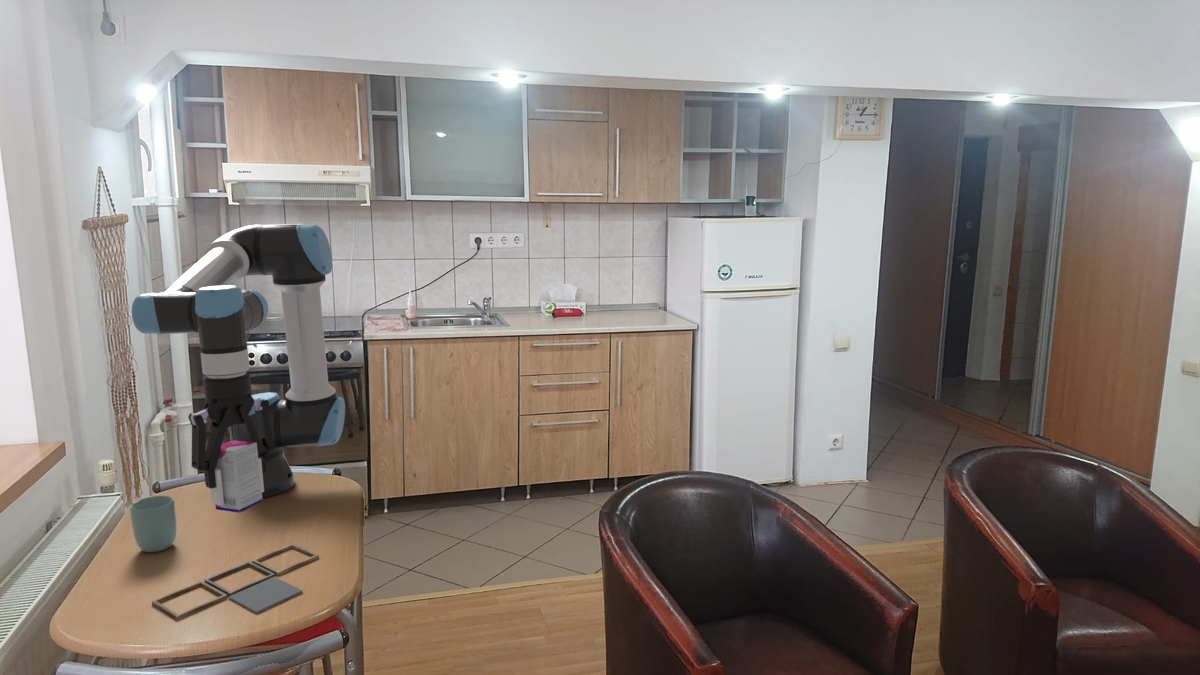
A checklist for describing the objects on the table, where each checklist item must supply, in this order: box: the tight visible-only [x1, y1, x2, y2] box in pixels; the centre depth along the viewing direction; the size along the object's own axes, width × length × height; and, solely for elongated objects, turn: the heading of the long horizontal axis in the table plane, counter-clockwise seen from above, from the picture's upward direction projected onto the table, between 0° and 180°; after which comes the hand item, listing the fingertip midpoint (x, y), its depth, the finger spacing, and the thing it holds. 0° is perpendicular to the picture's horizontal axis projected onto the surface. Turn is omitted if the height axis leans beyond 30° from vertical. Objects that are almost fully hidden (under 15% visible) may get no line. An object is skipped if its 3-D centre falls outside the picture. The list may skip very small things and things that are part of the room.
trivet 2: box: [251, 543, 320, 576], centre depth 156 cm, size 9×9×1 cm
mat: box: [228, 576, 303, 614], centre depth 143 cm, size 9×9×1 cm
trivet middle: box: [203, 561, 276, 597], centre depth 149 cm, size 9×9×1 cm
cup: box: [129, 495, 178, 553], centre depth 161 cm, size 8×8×10 cm
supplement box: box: [214, 440, 264, 514], centre depth 142 cm, size 6×6×12 cm
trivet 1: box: [151, 580, 229, 621], centre depth 141 cm, size 9×9×1 cm
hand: (238, 496), depth 143 cm, fingers closed on supplement box, 7 cm apart
